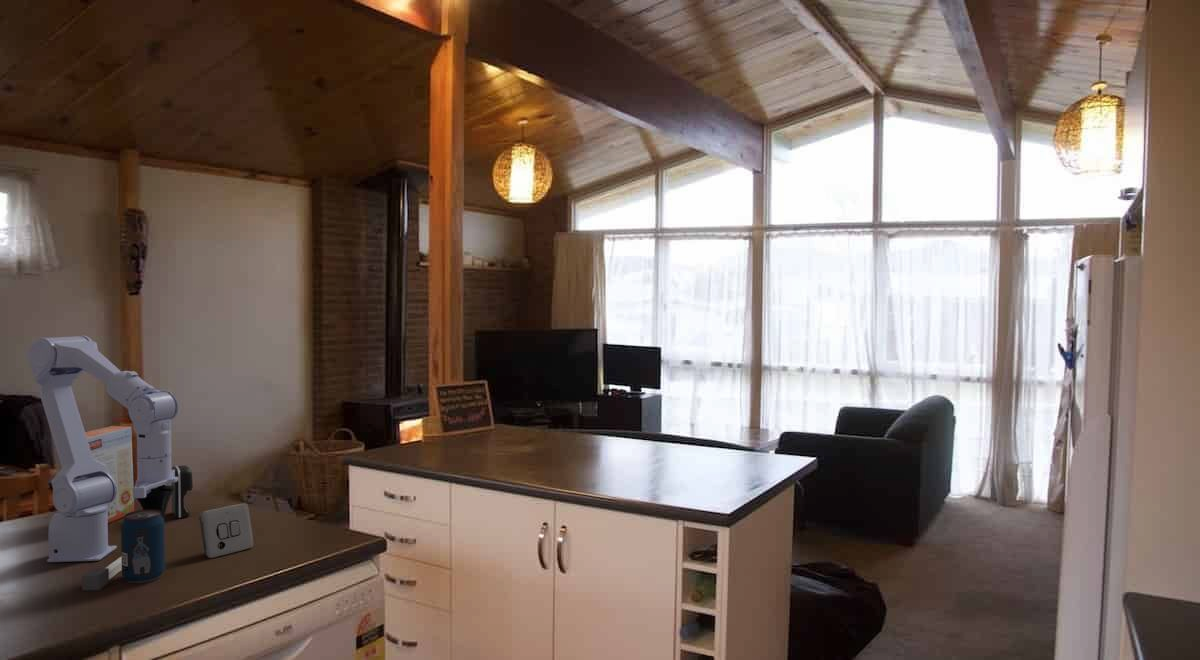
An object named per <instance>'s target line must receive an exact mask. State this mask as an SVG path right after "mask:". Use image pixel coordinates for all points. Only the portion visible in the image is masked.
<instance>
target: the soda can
mask: <svg viewBox="0 0 1200 660" xmlns="http://www.w3.org/2000/svg"><path fill="white" fill-rule="evenodd" d="M120 541H121V553H120V554H121V556H122V570H121V575H122V577H123V578H124V580H125V581H126V582H128V583H130V584H142V583H148V582H153V581H155V580H157V579H159V578H160V577H161V576H162V574H163V573H164V571H165V569H166V556H165V553H166V550H165V549H166V546H165V542H166V541H165V518H164V519H163V518H162V516H161V514H160V511H159V510H151V509H150V510H143V509H140V510H139V509H138V510H134V512H130V513H128V514H126V515H125V517H124V519H123V521H122V523H121V525H120Z"/></svg>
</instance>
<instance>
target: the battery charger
mask: <svg viewBox="0 0 1200 660" xmlns="http://www.w3.org/2000/svg"><path fill="white" fill-rule="evenodd" d="M172 470H175V477H178V481H177V482H174V483H170V484H171V485H170V486H174V491H173V492H172V494H171V512H172V514H173V516H174V517H175V518H176V519H178V518H179V519H181V518H185V517H189V516H190V515H191V513H190V511H189V509H188V507H185V502H184V501H185V500H184V498H185V496H187V493H188V492H190V491H192V490H193V488H194V487H193V484H194V483H193V473H192V470H191V469H190V467H188V466H187V465H174V466H172Z"/></svg>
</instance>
